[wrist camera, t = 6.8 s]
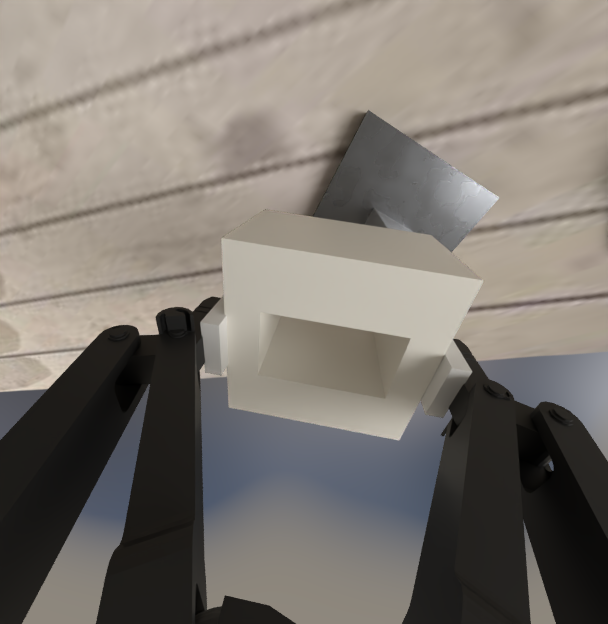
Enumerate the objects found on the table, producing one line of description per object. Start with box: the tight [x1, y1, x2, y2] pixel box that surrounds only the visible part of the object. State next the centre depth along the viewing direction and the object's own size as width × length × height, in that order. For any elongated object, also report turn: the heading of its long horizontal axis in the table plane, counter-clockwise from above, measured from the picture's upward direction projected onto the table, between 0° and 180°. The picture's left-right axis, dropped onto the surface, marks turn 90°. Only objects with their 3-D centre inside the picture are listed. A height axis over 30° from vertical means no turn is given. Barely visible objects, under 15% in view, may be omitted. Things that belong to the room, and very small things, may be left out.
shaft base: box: [313, 110, 499, 252], centre depth 25 cm, size 15×15×10 cm
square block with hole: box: [221, 209, 484, 440], centre depth 14 cm, size 9×9×6 cm
